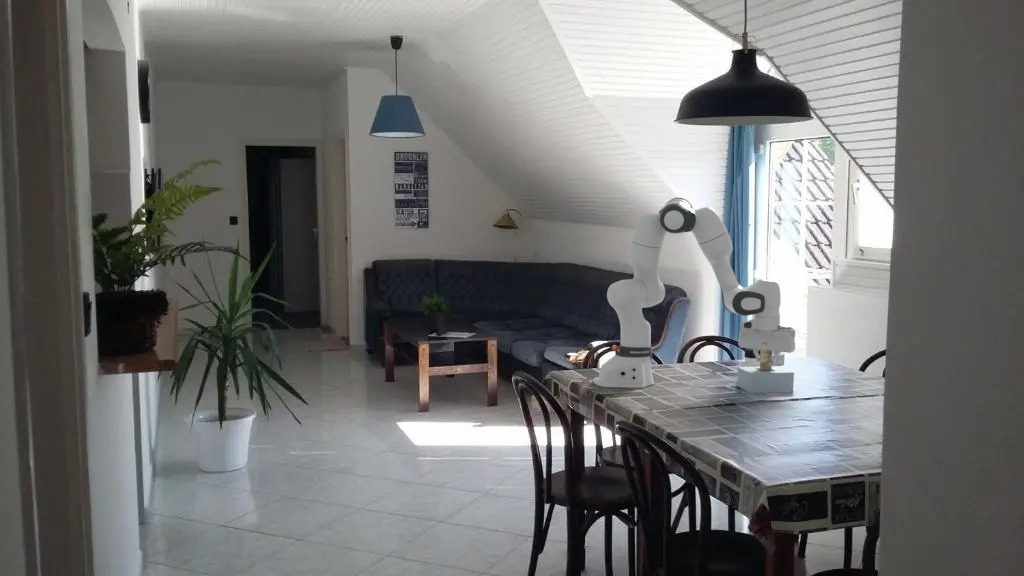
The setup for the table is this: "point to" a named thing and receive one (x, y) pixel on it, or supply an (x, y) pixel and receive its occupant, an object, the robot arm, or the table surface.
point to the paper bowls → (779, 359)
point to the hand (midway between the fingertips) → (765, 362)
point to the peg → (765, 358)
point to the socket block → (765, 379)
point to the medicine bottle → (750, 359)
